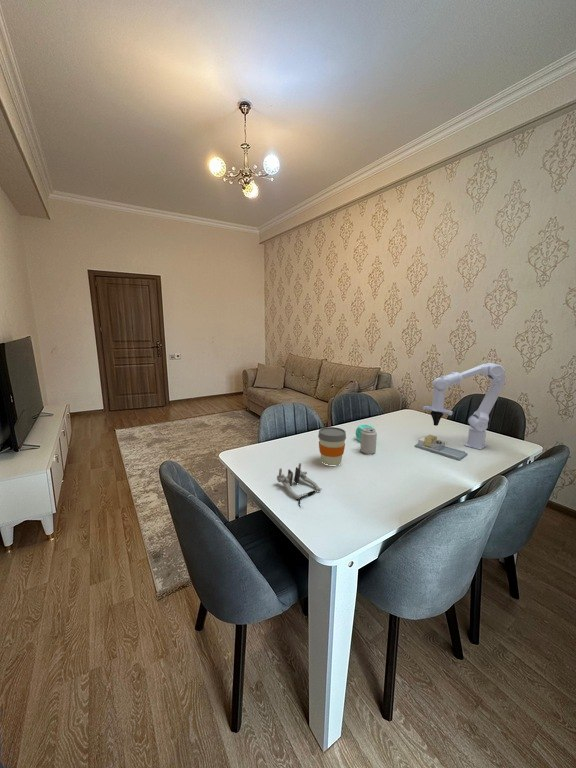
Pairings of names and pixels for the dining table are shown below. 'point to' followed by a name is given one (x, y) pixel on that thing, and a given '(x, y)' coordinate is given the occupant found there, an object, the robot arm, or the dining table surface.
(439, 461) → the dining table surface
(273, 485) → the dining table surface
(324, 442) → the reusable coffee cup
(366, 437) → the can
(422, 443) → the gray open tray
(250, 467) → the dining table surface
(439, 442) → the free jaw
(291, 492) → the bike brake
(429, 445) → the wooden block
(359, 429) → the teal ball
